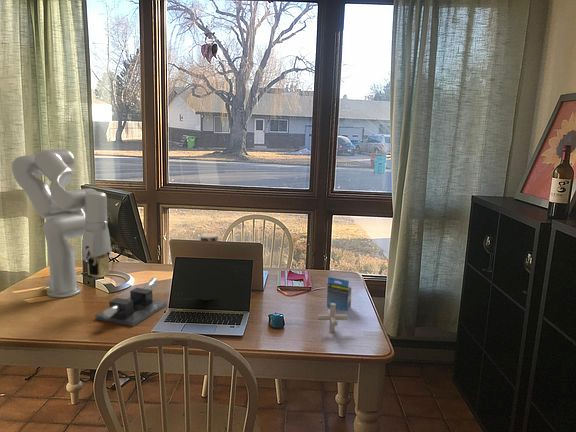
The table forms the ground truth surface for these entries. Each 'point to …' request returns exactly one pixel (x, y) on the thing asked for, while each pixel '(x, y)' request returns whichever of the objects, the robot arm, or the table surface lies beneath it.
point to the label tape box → (339, 293)
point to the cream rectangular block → (101, 266)
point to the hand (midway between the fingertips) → (98, 272)
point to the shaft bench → (133, 306)
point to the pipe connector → (332, 317)
